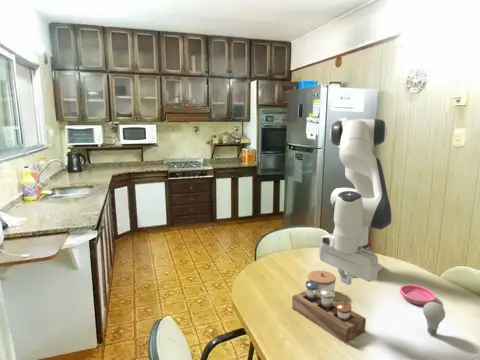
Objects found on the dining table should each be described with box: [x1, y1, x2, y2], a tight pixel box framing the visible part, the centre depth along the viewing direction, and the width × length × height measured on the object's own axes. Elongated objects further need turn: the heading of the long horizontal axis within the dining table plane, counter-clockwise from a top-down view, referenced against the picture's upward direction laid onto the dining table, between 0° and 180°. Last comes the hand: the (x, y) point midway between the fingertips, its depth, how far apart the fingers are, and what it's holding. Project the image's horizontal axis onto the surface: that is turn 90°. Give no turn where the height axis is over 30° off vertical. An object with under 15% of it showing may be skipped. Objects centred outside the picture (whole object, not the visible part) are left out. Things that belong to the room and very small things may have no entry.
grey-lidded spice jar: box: [305, 280, 319, 302], centre depth 117 cm, size 5×5×6 cm
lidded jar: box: [307, 270, 336, 293], centre depth 129 cm, size 11×11×9 cm
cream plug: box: [320, 288, 335, 311], centre depth 111 cm, size 5×5×6 cm
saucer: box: [399, 284, 437, 307], centre depth 125 cm, size 12×12×3 cm
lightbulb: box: [422, 301, 446, 336], centre depth 103 cm, size 6×6×11 cm
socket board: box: [291, 289, 367, 345], centre depth 112 cm, size 10×24×5 cm, turn 34°
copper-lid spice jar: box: [336, 301, 352, 322], centre depth 106 cm, size 5×5×6 cm
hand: (345, 282), depth 104 cm, fingers closed
